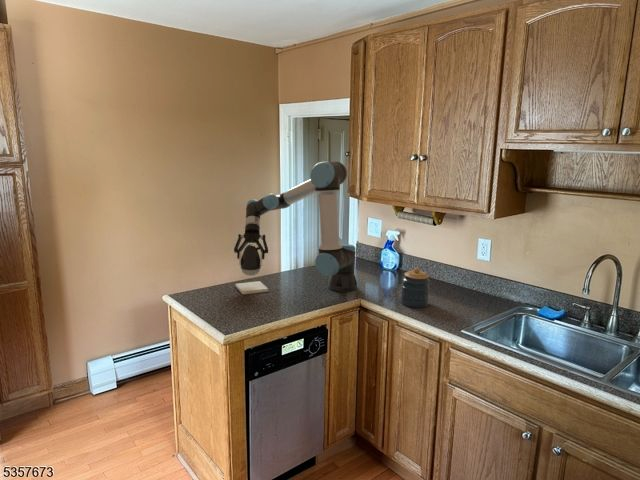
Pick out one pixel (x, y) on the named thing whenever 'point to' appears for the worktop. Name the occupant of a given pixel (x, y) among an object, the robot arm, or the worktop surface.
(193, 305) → the worktop surface
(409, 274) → the canister
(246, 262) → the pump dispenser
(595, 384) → the worktop surface
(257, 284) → the tile pad
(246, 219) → the robot arm
